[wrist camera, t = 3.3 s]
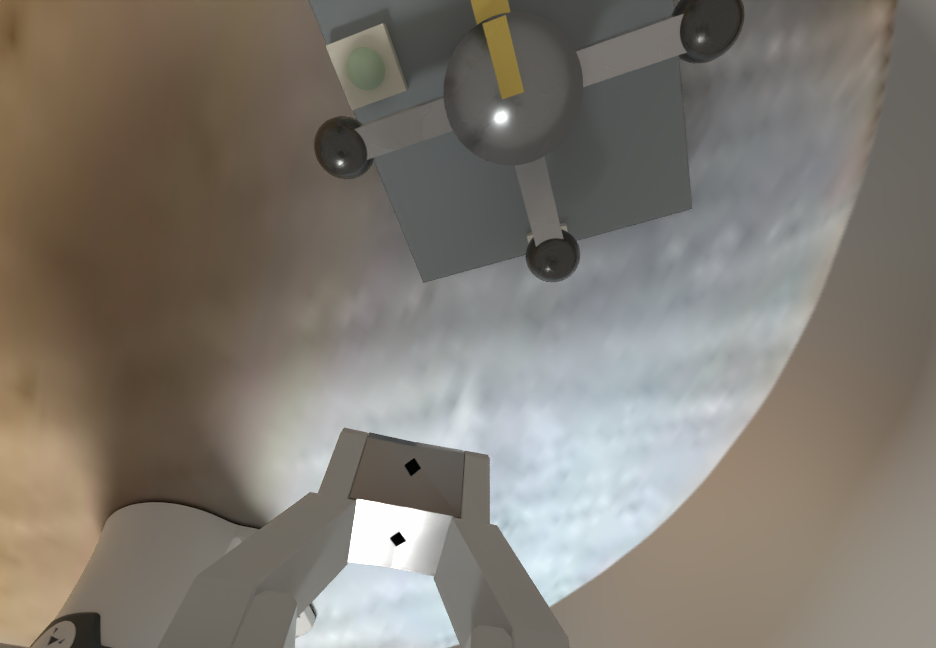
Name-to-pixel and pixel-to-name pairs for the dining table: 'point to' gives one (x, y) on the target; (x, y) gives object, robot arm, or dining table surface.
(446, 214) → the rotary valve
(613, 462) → the dining table surface
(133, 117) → the dining table surface
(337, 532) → the robot arm
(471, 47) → the capstan
